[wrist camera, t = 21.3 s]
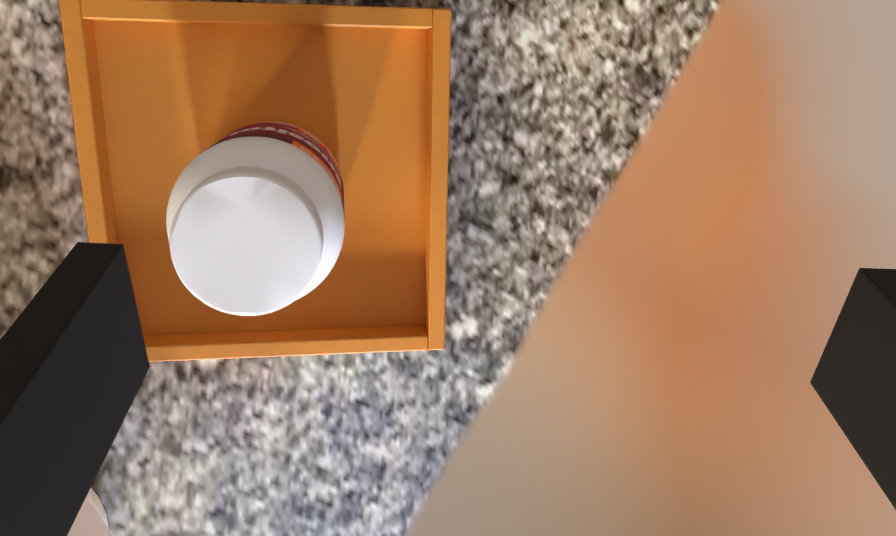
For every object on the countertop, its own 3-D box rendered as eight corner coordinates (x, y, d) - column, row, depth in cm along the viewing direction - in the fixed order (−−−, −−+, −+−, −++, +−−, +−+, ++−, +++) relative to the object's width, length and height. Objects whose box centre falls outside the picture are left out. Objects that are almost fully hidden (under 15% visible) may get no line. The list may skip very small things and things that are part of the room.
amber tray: (444, 11, 33) (451, 8, 31) (438, 334, 37) (444, 350, 35) (75, 0, 30) (57, -4, 28) (116, 346, 34) (102, 364, 32)
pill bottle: (363, 150, 33) (379, 194, 23) (315, 271, 34) (308, 365, 24) (231, 95, 32) (181, 115, 21) (185, 223, 33) (116, 302, 22)
